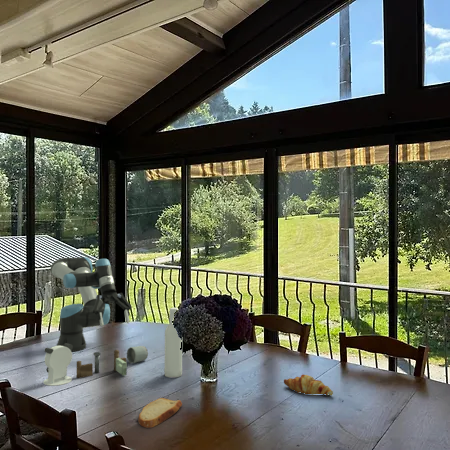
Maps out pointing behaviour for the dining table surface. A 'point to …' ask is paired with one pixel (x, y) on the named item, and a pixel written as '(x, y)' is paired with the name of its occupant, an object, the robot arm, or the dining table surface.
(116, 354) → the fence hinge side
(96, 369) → the post
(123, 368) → the gate
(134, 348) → the ceramic mug
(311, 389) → the croissant
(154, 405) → the slice of bread
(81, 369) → the fence far side
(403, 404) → the dining table surface
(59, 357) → the cream upright rounded piece
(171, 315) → the bottle
